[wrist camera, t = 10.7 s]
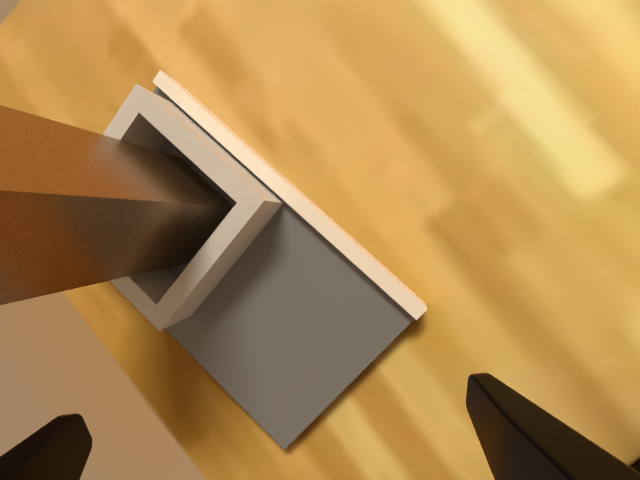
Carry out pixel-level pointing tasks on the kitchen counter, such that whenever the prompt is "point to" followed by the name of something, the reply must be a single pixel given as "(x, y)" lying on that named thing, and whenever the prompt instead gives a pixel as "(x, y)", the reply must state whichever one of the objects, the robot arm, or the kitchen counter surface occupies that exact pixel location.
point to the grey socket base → (261, 275)
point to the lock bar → (92, 208)
